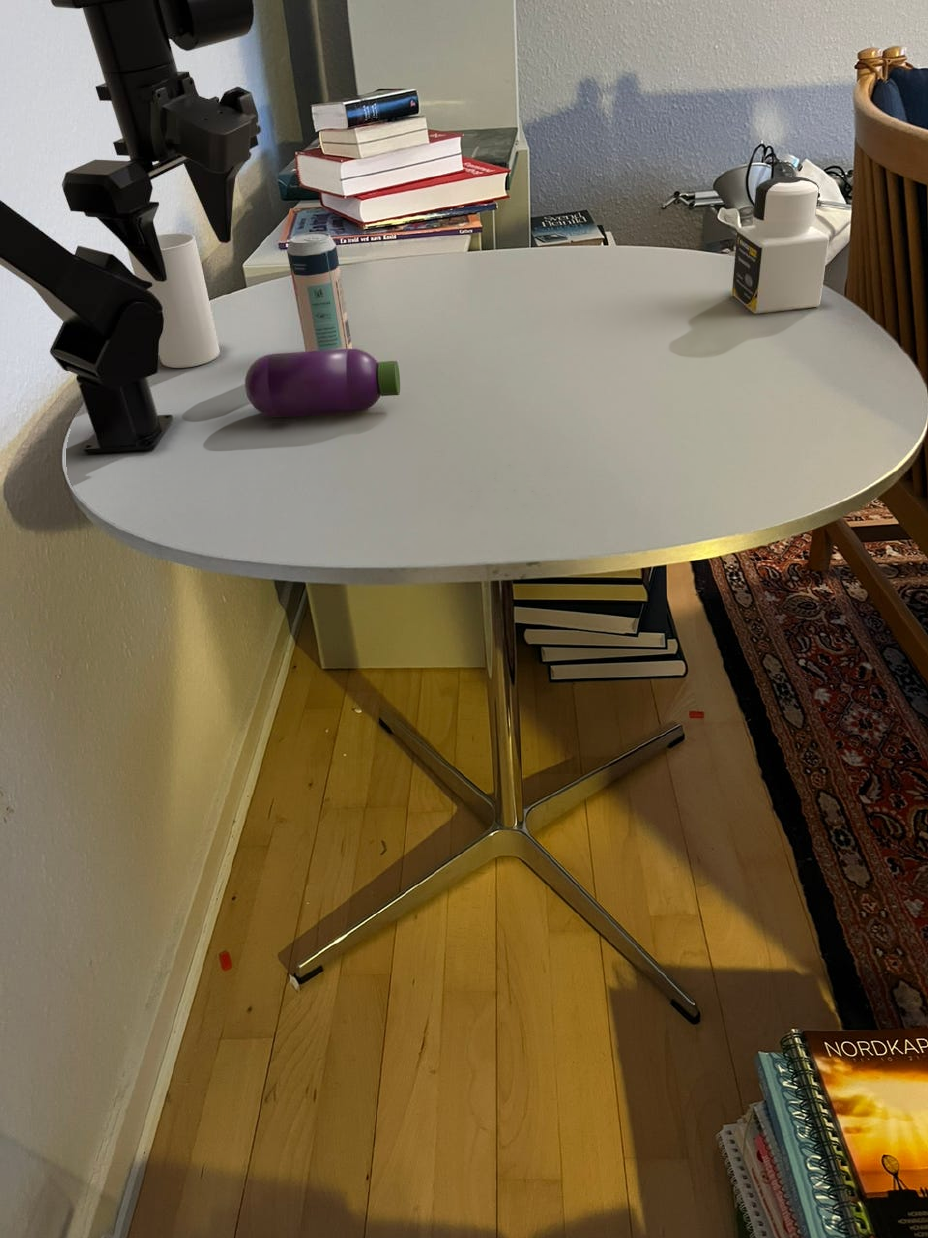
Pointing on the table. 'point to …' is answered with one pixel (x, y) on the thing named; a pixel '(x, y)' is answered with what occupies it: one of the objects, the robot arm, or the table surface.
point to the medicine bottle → (781, 249)
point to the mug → (182, 303)
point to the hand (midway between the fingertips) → (194, 260)
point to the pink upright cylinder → (319, 292)
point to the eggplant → (319, 382)
